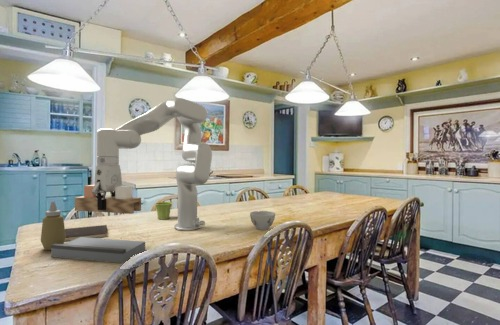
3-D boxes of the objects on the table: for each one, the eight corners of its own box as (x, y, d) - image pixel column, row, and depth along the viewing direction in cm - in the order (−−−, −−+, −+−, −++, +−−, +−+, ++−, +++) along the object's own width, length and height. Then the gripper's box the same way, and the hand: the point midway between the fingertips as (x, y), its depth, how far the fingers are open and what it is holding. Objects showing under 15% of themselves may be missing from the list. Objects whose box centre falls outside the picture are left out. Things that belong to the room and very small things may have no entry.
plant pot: (165, 215, 169) (165, 201, 169) (175, 218, 163) (175, 203, 163) (151, 218, 161) (151, 203, 161) (162, 221, 156) (162, 205, 155)
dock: (145, 249, 110) (145, 238, 110) (122, 262, 96) (122, 250, 96) (81, 244, 115) (81, 234, 115) (51, 256, 101) (51, 244, 101)
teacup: (280, 229, 142) (280, 213, 141) (262, 233, 133) (262, 216, 133) (259, 223, 153) (259, 208, 153) (241, 227, 145) (241, 211, 145)
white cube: (132, 197, 110) (132, 185, 110) (125, 199, 106) (125, 187, 105) (122, 197, 111) (122, 185, 111) (115, 198, 106) (115, 186, 106)
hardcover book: (107, 237, 126) (107, 232, 126) (43, 245, 115) (43, 239, 115) (106, 229, 140) (106, 224, 140) (49, 235, 130) (49, 229, 129)
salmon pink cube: (101, 196, 112) (101, 184, 112) (93, 197, 108) (93, 186, 108) (92, 195, 113) (92, 184, 113) (84, 197, 109) (84, 185, 109)
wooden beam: (141, 210, 110) (141, 197, 110) (131, 213, 104) (131, 200, 104) (86, 207, 115) (86, 195, 115) (74, 210, 109) (74, 197, 109)
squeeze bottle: (48, 244, 114) (48, 199, 113) (70, 244, 115) (69, 199, 114) (35, 251, 106) (34, 203, 105) (58, 251, 107) (58, 203, 106)
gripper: (100, 162, 100) (100, 213, 100) (130, 161, 117) (130, 205, 117) (82, 161, 101) (82, 212, 102) (114, 160, 118) (113, 204, 119)
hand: (107, 208), depth 109 cm, fingers closed on wooden beam, 6 cm apart
